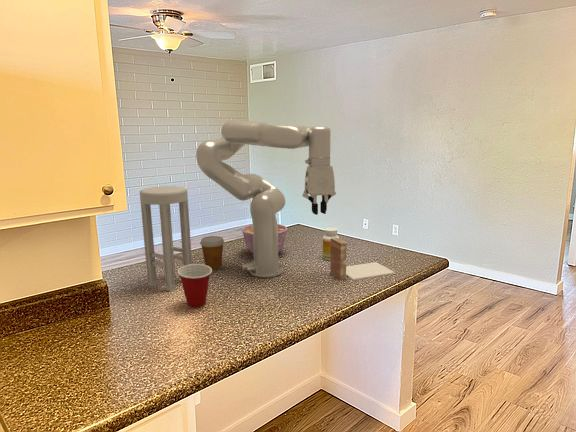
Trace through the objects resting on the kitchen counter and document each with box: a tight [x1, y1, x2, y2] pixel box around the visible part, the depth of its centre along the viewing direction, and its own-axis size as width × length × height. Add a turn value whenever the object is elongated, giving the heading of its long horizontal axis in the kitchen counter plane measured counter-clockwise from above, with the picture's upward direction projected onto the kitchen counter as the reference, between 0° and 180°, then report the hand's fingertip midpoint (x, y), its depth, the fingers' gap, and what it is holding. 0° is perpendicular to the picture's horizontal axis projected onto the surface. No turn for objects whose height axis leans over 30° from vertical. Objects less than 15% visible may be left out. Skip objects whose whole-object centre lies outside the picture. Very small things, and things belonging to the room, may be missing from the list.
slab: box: [329, 237, 348, 281], centre depth 160 cm, size 2×8×14 cm, turn 21°
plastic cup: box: [177, 263, 213, 308], centre depth 137 cm, size 11×11×12 cm
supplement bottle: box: [321, 227, 340, 261], centre depth 181 cm, size 7×7×13 cm
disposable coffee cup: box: [199, 235, 225, 271], centre depth 171 cm, size 10×10×12 cm
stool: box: [139, 185, 193, 292], centre depth 152 cm, size 16×16×35 cm
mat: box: [346, 261, 396, 281], centre depth 165 cm, size 18×13×1 cm
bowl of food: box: [241, 223, 288, 254], centre depth 188 cm, size 20×20×12 cm
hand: (319, 213), depth 153 cm, fingers open, 2 cm apart
